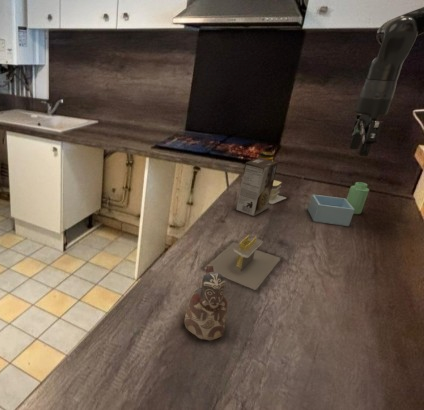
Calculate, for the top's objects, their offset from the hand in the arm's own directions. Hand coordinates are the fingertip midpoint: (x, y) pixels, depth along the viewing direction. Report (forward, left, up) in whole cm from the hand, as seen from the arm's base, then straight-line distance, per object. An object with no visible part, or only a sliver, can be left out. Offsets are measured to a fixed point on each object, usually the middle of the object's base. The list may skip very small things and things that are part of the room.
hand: (357, 152), depth 108 cm
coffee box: (+27, +8, -20) cm, 34 cm away
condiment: (+23, -22, -20) cm, 37 cm away
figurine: (+39, +70, -20) cm, 83 cm away
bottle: (-4, -3, -20) cm, 21 cm away
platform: (+31, +44, -20) cm, 58 cm away
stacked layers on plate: (+21, -6, -20) cm, 29 cm away
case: (+5, +6, -20) cm, 21 cm away
